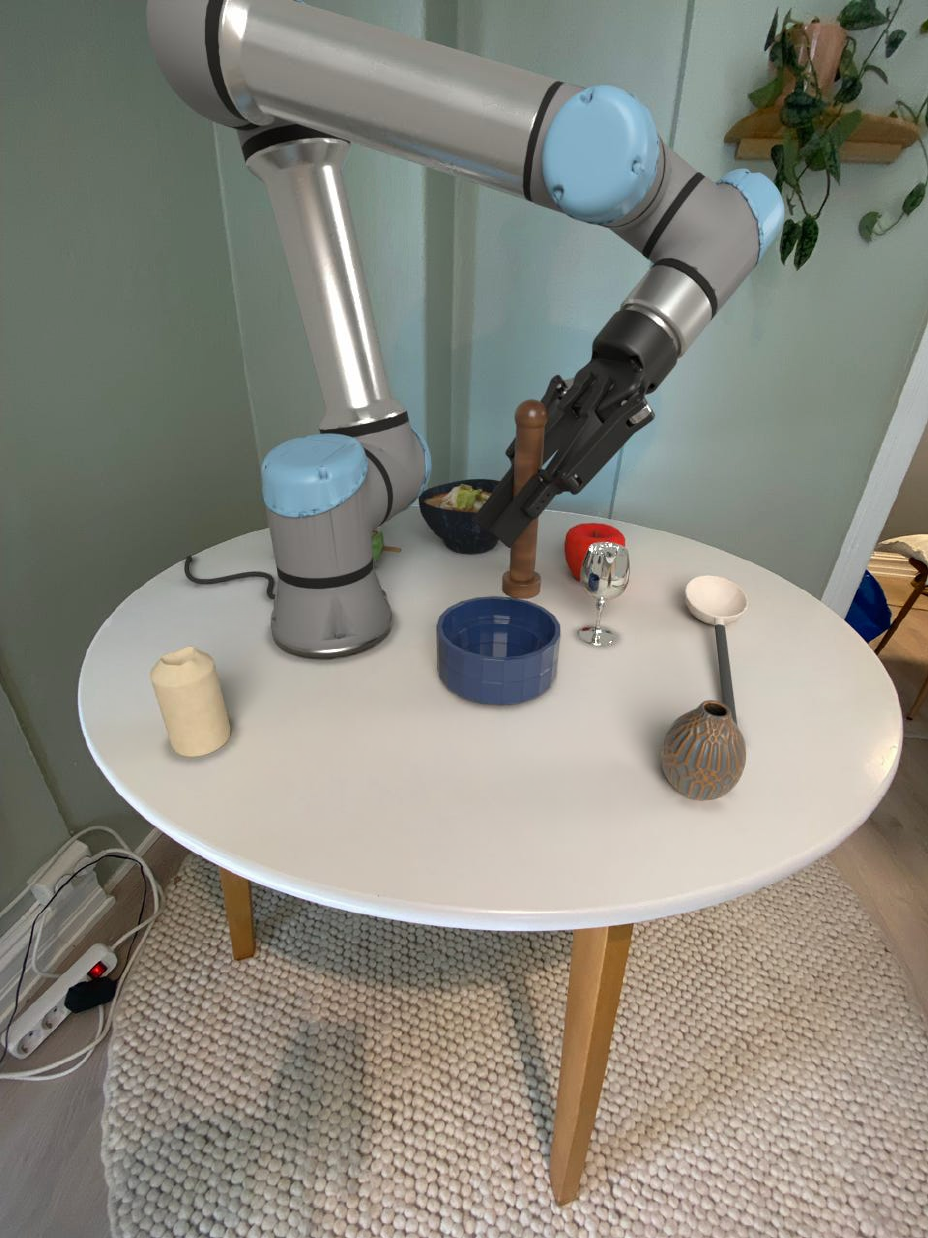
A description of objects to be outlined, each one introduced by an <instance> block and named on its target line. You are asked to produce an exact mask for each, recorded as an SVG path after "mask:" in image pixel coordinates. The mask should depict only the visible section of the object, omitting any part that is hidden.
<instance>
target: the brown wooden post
mask: <svg viewBox="0 0 928 1238" xmlns="http://www.w3.org/2000/svg"><path fill="white" fill-rule="evenodd" d="M540 401H541V400H538V399H534V398H529V399H525V400H524V401H522V402H520V404H518V406H517V407H516V408H515V411H514V423H515V427H516V428H515V437H516V442H515V464H514V485H513V500H514V498H515V497H516V496H517V495H518V493H519V492H520V491H521V490H522V488H523V487H524V486H525V485H526V483H527V482H528V481H529V479H530V478H531V477H532V476H533V475H534V476H536V477H538V478H539V479H540V481H542V478H541V477H540V476H539V475H538V474H537V469H538V468H539V469H543V466H542V462H543V448H544V433H545V425H546V423H547V420H548V412H547V409H546V407H545V406H544V404H543V403H541V402H540ZM539 519H540V516H539V517H537V518H536V519H535V520H532V521H531V522H530V524H529V525H528V526H527V527H526V529H525V530H524V531H523V532H522V534H521V535H520V536H519V537H518V539H517V540H516V541H515V542H514V544H513V545H512V546H511V547H510V550H509V551H510V552H509V554H510V555H509V569H508V570H506V571H505V572H503V574H502V578H501V591H502V593H503V594H505V596H507V597H513V598H518V599H522V600H526V599H531V598H535V597H537V596H538V595H539V594H540V592H541V587H542V586H541V584H542V576H541V573H539V572H537V571H536V561H537V560H536V559H537V546H538V545H537V544H538V533H539V531H538V530H539Z"/></svg>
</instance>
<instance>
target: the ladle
mask: <svg viewBox="0 0 928 1238" xmlns="http://www.w3.org/2000/svg"><path fill="white" fill-rule="evenodd" d="M684 600H685V604H686V606H687V609H688V610H689V612H690V614H691V615H692V616H694V617H695V618H696V619H698V620H699V621H701V622H703V623H705V624H709V625H712V626H714V632H715V634H714V635H715V643H716V652H717V653H716V654H717V662H718V673H719V682H720V691H721V701H722V702H721V703H723V704H725V705H726V706H727V707H728V708H729V709H730V711H731V716H732V719H733V721H734V722H735V723H736V725H737V727H738V726H739V725H738V720H737V719H738V717H737V711H736V703H735V694H734V687H733V679H732V672H731V663H730V656H729V648H728V639H727V632H726V626H727V625H730V624H731V623H734V622H735V621H737V620H739V619H740V618H741V617H742V616H743V614H744V613H745V612H746V610H747V608H748V606H749V605H748V603H749V599H748V596H747V594H746V592H745V591H744V590H743V589H742V588H741V587H740V586H739V585H737V584H736V583H735V582H733V581H731V580H729V579H727V578H724V577H722V576H717V575H707V574H704V575H699V576H696V577H694V578H692V579H690V580H689V581H688V582H687V584H686V585H685V589H684ZM725 625H726V626H725ZM738 728H739V727H738Z"/></svg>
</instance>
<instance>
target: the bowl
mask: <svg viewBox="0 0 928 1238" xmlns="http://www.w3.org/2000/svg"><path fill="white" fill-rule="evenodd" d="M500 481H501V480H498V479H490V478H489V479H488V478H470V479H468V478H467V479H462V480H457V481H452V482H448V483H447V482H446V483H443V484H439V485H436V486H433V487H430V488H426V489H425V490H424V492H423V493H422V494H421V495H420V496H419V497H418V498H417V499H418V506H419V512H420V514H421V517H422V518H423V520H424V522H425V523H426V524H427V526H428V528H429V529H430V531H432V532H433V533H434V534H435V535H436V536H437V537H438V538H440V539H441V540H442V542H443V543H444V545H445V547H446V548H447V549H448V550H449V551H452V552H454V553H457V554H462V555H463V554H464V555H480V554H485V553H488V552H490V551H492V550H493V549H494V548H495V547H496V545H497V544H498V542H499V541H500V540H499V539H498V538H497V537H496V536H494V535H493V536H490V535H489V534H488V533H486V532H485V531H484V530H483V529H482V528H481V527H480V526H479V525H478V524H477V523H475V522H474V521H473V520H472V518H473V517H474V516H475V515H476V513H477V512H478V511H479V509H480V508H481V507H482V506H483V504H484V503H485V502H486V501H487V499H488V498H489V497H490V496H491V494H492V492H493V490H494V488H495V487H496V486H497V484H498V483H499V482H500Z"/></svg>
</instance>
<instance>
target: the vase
mask: <svg viewBox="0 0 928 1238" xmlns="http://www.w3.org/2000/svg"><path fill="white" fill-rule="evenodd" d="M737 726H738V724H737V725H736V723H735V722H734V721H733V719H732V716H731V711H730V709H729V708H728V707H727V706H726V705H725V704H723V703H722V702H721V701H719V700H712V699H710V700H709V699H708V700H704V701H702V702H701V703H700V704H699V705H698V706H697V707H696V708H694V709H691V710H689V711H687V712H685V713H683V714H682V715H680V716H679V717H678V718H676V719H675V720H674V721H673V722H672V723H671V725H670V726H669V727H668V729H667V731H666V732H665V735H664V736H663V740H662V743H661V750H660V761H661V767H662V772H663V773H664V776H665V778H666V779H667V781H668V782H669V783H670V785H671V786H672V787H673V788H674V789H675V790H676V791H677V792H678V793H680V794H681V795H683V796H685V797H687V798H689V799H692V800H697V801H713V800H716V799H720V798H722V797H724V796H726V795H727V794H728V793H731V791H732V790H733V789H735V787H736V786H737V785H738V783H739V781H740V780H741V778H742V776H743V773H744V771H745V767H746V764H747V763H746V762H747V746H746V742H745V738H744V736H743V734H742V732H741V730H740V728H739V727H737Z"/></svg>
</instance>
